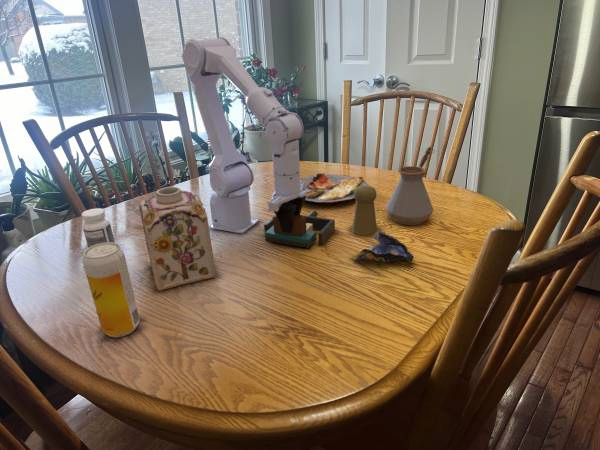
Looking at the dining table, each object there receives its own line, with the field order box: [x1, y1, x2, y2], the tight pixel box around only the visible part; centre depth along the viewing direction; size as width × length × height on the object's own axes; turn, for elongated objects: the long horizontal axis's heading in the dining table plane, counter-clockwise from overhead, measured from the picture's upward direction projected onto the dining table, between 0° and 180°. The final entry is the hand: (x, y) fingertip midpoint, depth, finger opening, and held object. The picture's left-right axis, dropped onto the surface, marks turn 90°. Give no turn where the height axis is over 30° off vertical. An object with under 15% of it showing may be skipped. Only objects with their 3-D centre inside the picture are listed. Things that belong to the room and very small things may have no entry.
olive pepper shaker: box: [351, 185, 378, 237], centre depth 103 cm, size 6×6×11 cm
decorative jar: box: [138, 186, 217, 291], centre depth 87 cm, size 12×12×18 cm
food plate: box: [300, 172, 370, 204], centre depth 129 cm, size 25×23×4 cm
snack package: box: [352, 230, 415, 263], centre depth 91 cm, size 12×6×12 cm
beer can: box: [81, 242, 140, 338], centre depth 71 cm, size 6×6×15 cm
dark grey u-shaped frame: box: [263, 210, 336, 246], centre depth 107 cm, size 15×13×3 cm
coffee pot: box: [385, 146, 436, 226], centre depth 111 cm, size 21×12×15 cm, turn 149°
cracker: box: [306, 223, 314, 231], centre depth 104 cm, size 5×4×2 cm
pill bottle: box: [81, 207, 116, 248], centre depth 99 cm, size 6×6×10 cm
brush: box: [264, 213, 317, 249], centre depth 100 cm, size 11×4×6 cm, turn 65°
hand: (290, 229), depth 100 cm, fingers closed on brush, 2 cm apart
